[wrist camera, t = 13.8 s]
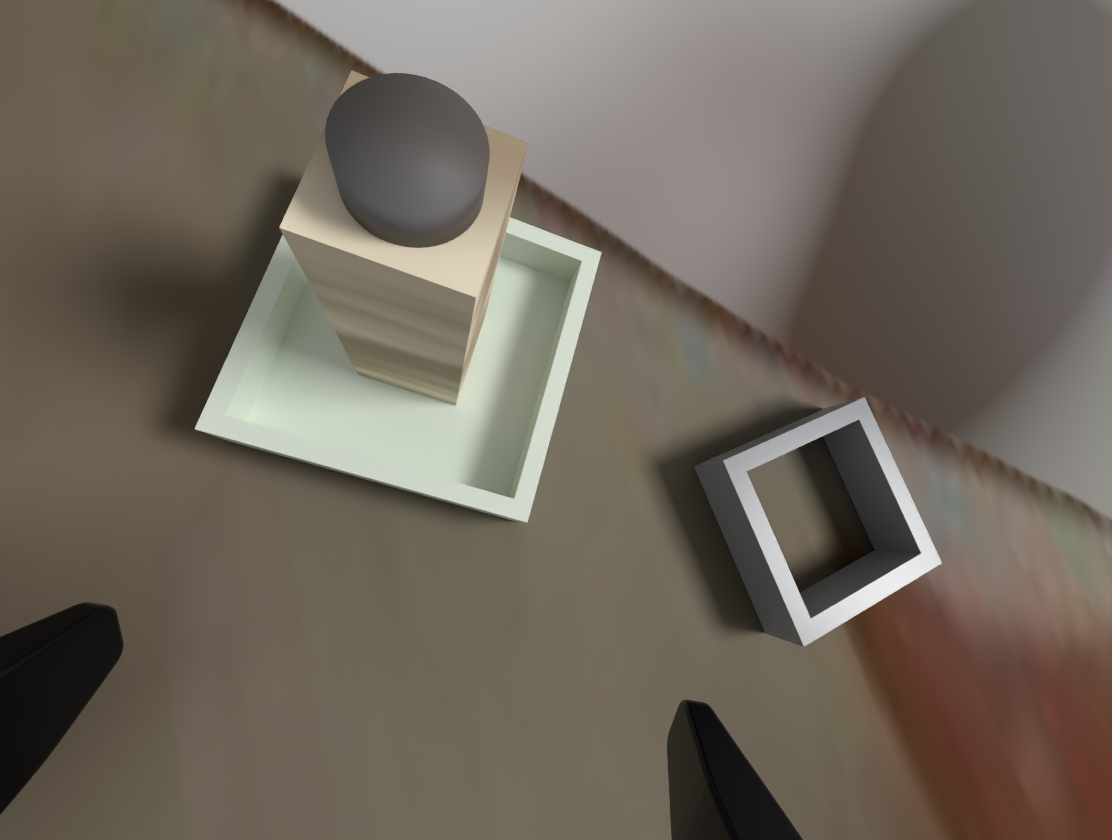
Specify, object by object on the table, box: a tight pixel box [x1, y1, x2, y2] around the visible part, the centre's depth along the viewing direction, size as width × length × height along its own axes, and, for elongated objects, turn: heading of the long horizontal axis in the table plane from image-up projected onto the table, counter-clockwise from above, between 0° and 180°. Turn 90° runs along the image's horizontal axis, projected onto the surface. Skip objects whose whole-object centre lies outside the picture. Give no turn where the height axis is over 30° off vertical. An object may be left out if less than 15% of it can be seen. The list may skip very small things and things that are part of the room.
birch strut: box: [279, 71, 528, 405], centre depth 15 cm, size 4×4×12 cm
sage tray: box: [195, 218, 601, 523], centre depth 20 cm, size 12×12×2 cm
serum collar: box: [694, 397, 942, 647], centre depth 23 cm, size 8×8×2 cm
